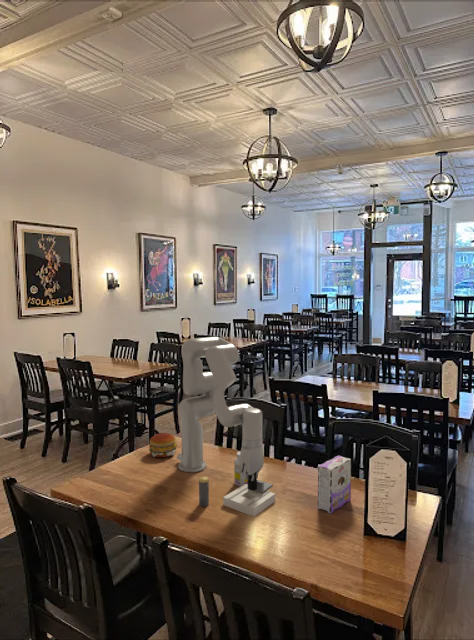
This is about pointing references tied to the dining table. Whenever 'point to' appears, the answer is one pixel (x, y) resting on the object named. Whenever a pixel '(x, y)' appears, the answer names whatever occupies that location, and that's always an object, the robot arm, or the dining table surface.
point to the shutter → (263, 486)
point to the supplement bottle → (239, 476)
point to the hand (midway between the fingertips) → (252, 489)
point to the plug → (203, 491)
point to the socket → (248, 500)
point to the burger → (162, 445)
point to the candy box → (334, 484)
